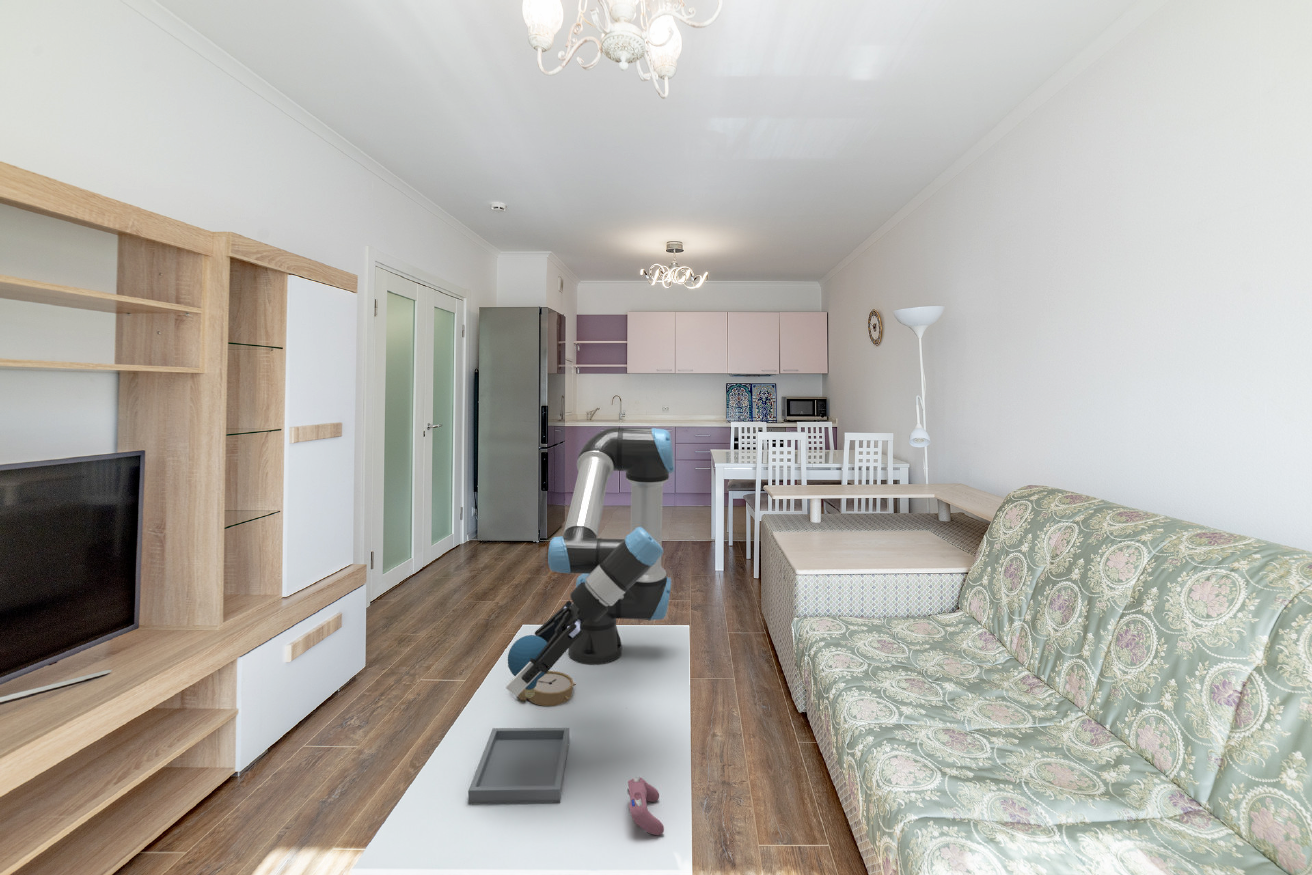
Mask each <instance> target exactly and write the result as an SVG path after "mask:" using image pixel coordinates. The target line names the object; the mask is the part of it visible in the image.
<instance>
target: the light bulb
mask: <svg viewBox="0 0 1312 875" xmlns="http://www.w3.org/2000/svg"><path fill="white" fill-rule="evenodd" d="M546 644H547V642H546V641H545V640H544V639H543V638H541V637H539V636H535V634H528V635H525V636H522V637H519V638H518V639H517V640H516V641H515V642H513V644H512V645H511V647H510V648H509V650H508V651H509V652H508V654H507V667H508V666H509V667H508V669H509V670H510V673H511V674H512V676H514V677H515V676H516V675H517V674H518V673H519V672H520V671H521V670H522V669H523V668H524V667H525V666H526V665H527V664H528V663H529V662H530V659H531V658H533V659H534V660H535V658H536V657H537V656H538V655H539V653H540V652H541V651H542V649H543V648H544V647H545V646H546ZM543 663H544V662H543ZM544 675H545V673H544V672H541V673H540V674H539V675H538V676H537V677H536V678H535V679H534V680H533V681H532V682H531V683H530V684H529V685H528V686H527V687H526V688H525V696H526V697H527V698H531V697H533V696H534V695H535V687H536V684H537V681H538V679H540V678H541V677H543V676H544Z"/></svg>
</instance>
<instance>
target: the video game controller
mask: <svg viewBox="0 0 1312 875" xmlns="http://www.w3.org/2000/svg"><path fill="white" fill-rule="evenodd" d="M627 783H628V784H627V785H628V788H626V792H627V795H629V799H630V803H628V807H629V812H630V815H631V817H632V819H633V821H634V823H635V825H637V826H639V827H640V828H641V829H642V830H644V831H645V832H646V833H648V834H650V835H653V836H661V835H662V834H664V831H665V827H664V824H663V823H662V822H661V820H659V819H658V818H656V817H655V815H653V814H652V813H651V812H650V811H649V810H648V805H647V804H648V803H647V802H653V803H654V802H657V801H658V800H659V799H660V793H659V791H658V789H657V788H655V787H654V786H652V785H651V784H649V783H648V782H647V781H646V780H645V779H644V778H643V777H640V776H637V777H633V778H631V779H629V780H628V781H627Z"/></svg>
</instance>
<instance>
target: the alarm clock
mask: <svg viewBox="0 0 1312 875" xmlns="http://www.w3.org/2000/svg"><path fill="white" fill-rule="evenodd" d="M575 686H577V683H576V682H575V683H574V680H573V678H572V677H571V676H570V675H568V674H566V673H563V672H560V671H558V670H557V671H555V670H554V671H553V670H549V671H548V672H547V673H546V674H545V675H544V676H543V677H541V678H540V679H538V681H537V684H536V687H535V695H534V696H533V697H531V698H527V697H526V696H525V689H524V690H523V691H522V692H521V693H520V694H519V695H518V696H517V697H518V699H519V700H521V701H524V702H526V701H527V700H528V701H529V702H531V703H533V704H534V705H539V706H543V707H554V706H559V705H562V704H564V703H566V702H568V701H569V700H570V699H571V698H572V696H573V688H574V687H575Z"/></svg>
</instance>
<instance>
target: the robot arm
mask: <svg viewBox="0 0 1312 875" xmlns="http://www.w3.org/2000/svg"><path fill="white" fill-rule="evenodd" d="M673 448H674V447H673V442H672V436H671V433H670V431H669V430H667V429H665V428H664V429H663V428H655V427H620V426H619V427H609V428H606V429H604V430H602V431H600V432H598V433H595V435H593V436H592V437H590V438H589V440H588V441H587V442H586V443H585V444H584V445H583V447H582V448H581V449H580V452H579V453H578V457H577V461H576V469H577V472H578V474H577V478H576V480H575V481H576V482H575V485H574V489H573V494H572V497H571V502H570V506H569V510H568V515H567V518H566V522H565V526H564V531H563V536H561V535H560V536H554V537H552V539H551V540H550V541H549V545H548V551H547V563H548V567H549V570H550V571H552V572H554V573H559V574H560V573H561V574H568V575H570V574H580V575H579V576H578V577H577V578H576V582H575V588H574V589H573V590H572V591H571V593H570V594H569V597H570V600H568V601H566V602H565V603H564V604H563V606H562V607H561V608H560V609H559V610H558V611H557V612H555V613H554V614H553V615H552V616H551V617H549V619H548V620H546V622H544V623H543V624H542V625H541V626H540V627H538V629H536V630H535V631H534V635H535V636H539V637H541V638H543V639H544V640H545V641H546V642H547V644H546V646H545V647H544V648H543V649H542V651H541V652H540V653H539V655H538V656H537V657H536V658H535V660H534V659H533V658H531V659H530V662H529V663H528V664H527V665H526V666H525V667H524V668H523V669H522V670H521V671H520V672H519V673H518V674H517V675H516V676H514V677H513V678H512V679H511V680H510V681H509V682H508V683H507V684H506V685H505V689H506V690H507V691H508V692H510V693H511V694H512V695H513V696H514V697H516V698H517V697H518V695H519V694H520V693H521V692H522V691H523V690H524V689H525V688H526V687H527V686H528V685H529V684H530V683H531V682H532V681H533V680H534V679H535V678H536V677H537V676H538V675H539V674H540V673H541V672H544V673H545V674H546V673H547V672H548V671H551V669H552V668H553V666H554V665H555V664H556V663H557V662H558V661H559V660H560V658H561V657H562V656H563V655H564V654H565V653H566V652H567V650H568V653H567V654H568V657H569V658H570V659H572V660H573V661H575V662H577V663H580V664H588V665H601V664H608V663H610V662H614V661H616V660H617V659H619V658H620V657H621V656H622V654H623V643H622V640H621V637H620V634H619V630H618V628H617V627H618V626H617V620H619V619H620V620H621V619H623V620H642V621H643V620H644V621H648V622H649V621H657V620H659V621H661V620H664V618H665V617H666V616H667V613H668V609H669V604H670V603H669V602H670V596H671V589H672V579H671V577H669V576H667V570H666V569H665V568H664V567H663V566H662V556H663V554H664V548H663V547H662V546H663V545H662V542H663V538H662V537H663V534H662V533H663V498H664V496H663V494H664V487H663V486H664V484H665V483H666V482H668V480H670V479H669V478H670V474H672V473H674V472H675V462H674V461H675V460H674V450H673ZM614 471H615V472H616V471H617V472H625V479H626V480H627V481H628V482H629V483H630V485H631V486H630V490H631V492H630V496H631V497H630V533H629V534H627V535H626V536H625V538H603V537H599V538H598V536H599V531H600V524H601V520H602V514H603V508H604V503H605V497H606V493H607V492H606V491H607V486H608V480H609V477H611V476H612V474H614ZM543 662H544V663H543ZM507 668H509V666H508V665H507Z"/></svg>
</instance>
